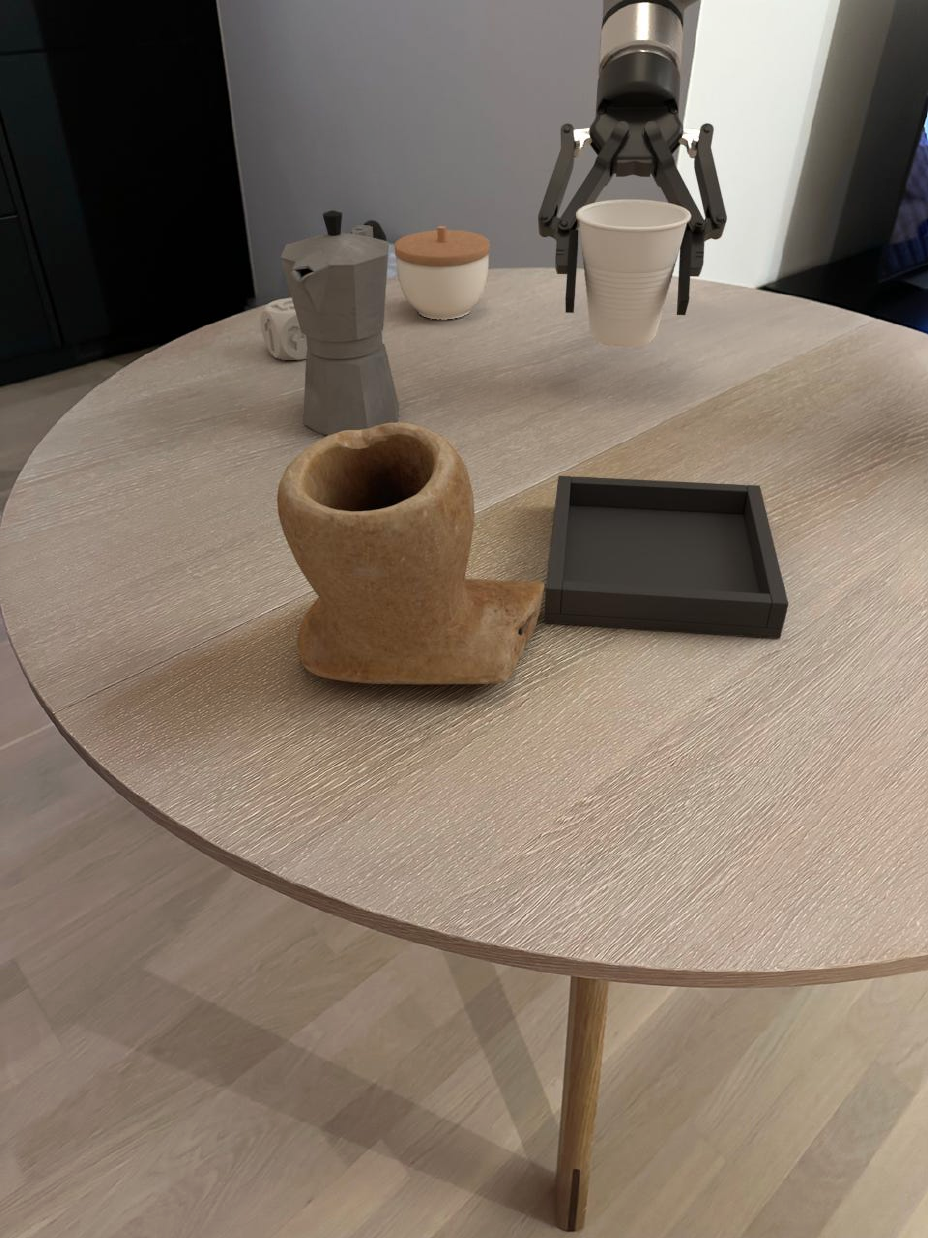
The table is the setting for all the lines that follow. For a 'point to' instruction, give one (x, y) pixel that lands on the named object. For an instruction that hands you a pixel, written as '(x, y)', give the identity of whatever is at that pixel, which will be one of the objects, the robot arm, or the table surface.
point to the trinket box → (442, 271)
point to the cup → (629, 266)
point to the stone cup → (397, 564)
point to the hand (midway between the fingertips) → (625, 306)
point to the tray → (664, 558)
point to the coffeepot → (343, 325)
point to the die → (283, 331)
